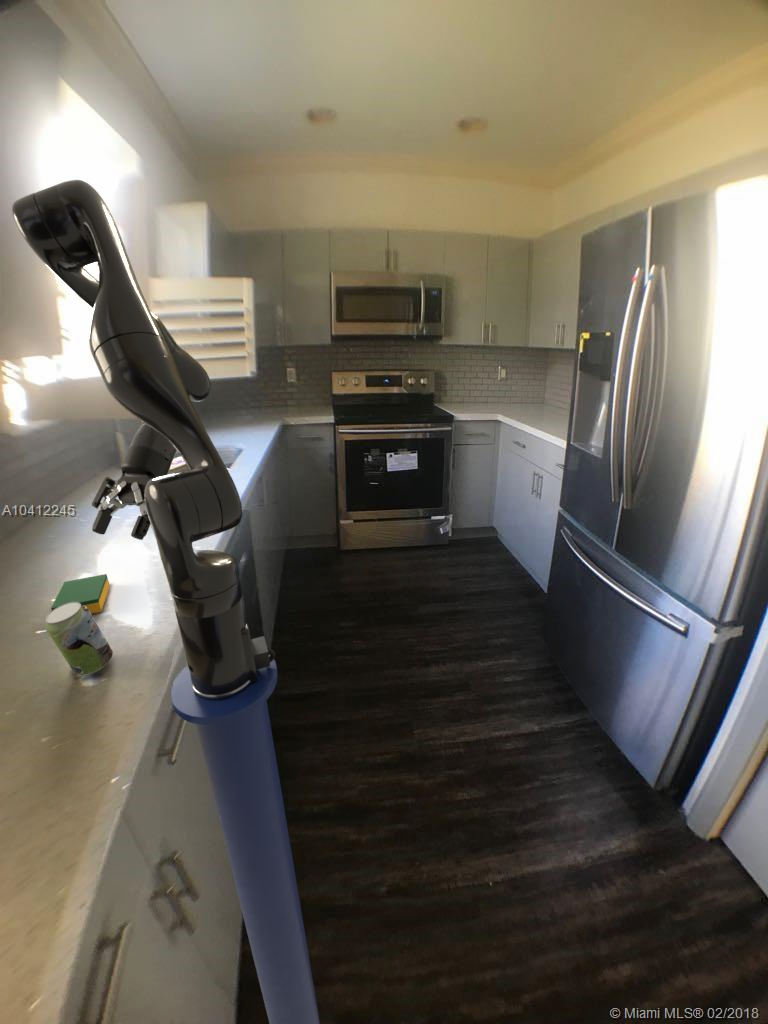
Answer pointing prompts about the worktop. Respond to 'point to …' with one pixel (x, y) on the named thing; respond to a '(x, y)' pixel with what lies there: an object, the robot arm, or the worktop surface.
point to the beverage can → (78, 638)
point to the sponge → (84, 593)
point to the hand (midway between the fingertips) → (116, 535)
